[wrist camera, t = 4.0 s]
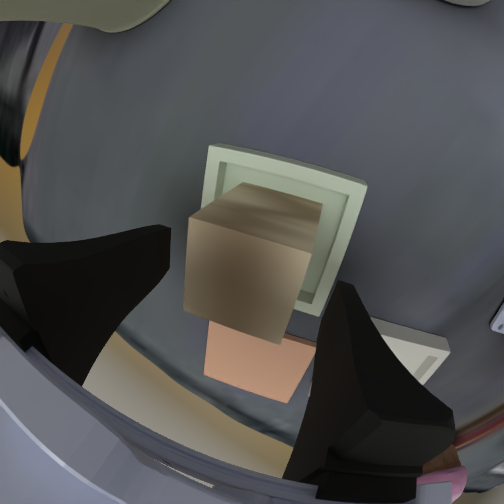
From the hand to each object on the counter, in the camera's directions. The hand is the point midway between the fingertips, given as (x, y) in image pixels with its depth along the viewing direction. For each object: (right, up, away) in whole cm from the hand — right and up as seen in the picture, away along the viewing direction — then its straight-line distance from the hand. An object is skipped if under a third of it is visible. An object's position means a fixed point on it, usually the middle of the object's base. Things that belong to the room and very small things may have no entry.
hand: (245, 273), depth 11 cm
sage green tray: (+2, +2, +5) cm, 5 cm away
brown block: (+1, +2, +4) cm, 5 cm away
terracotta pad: (0, -8, +10) cm, 13 cm away
